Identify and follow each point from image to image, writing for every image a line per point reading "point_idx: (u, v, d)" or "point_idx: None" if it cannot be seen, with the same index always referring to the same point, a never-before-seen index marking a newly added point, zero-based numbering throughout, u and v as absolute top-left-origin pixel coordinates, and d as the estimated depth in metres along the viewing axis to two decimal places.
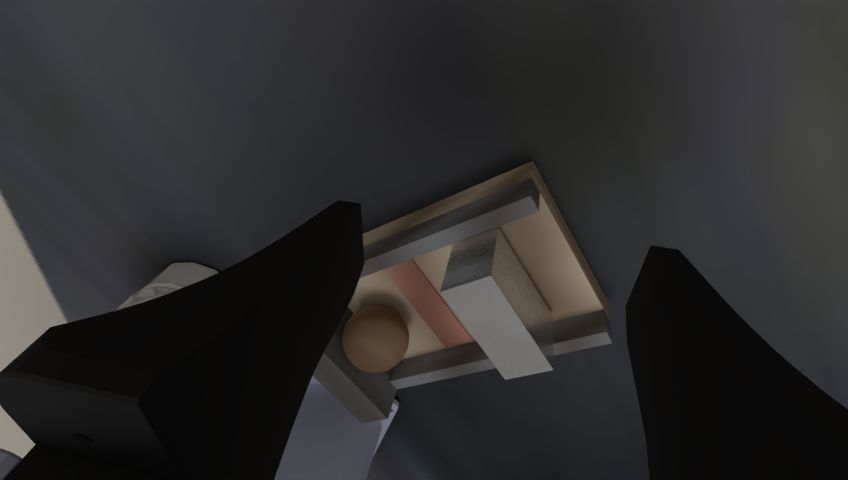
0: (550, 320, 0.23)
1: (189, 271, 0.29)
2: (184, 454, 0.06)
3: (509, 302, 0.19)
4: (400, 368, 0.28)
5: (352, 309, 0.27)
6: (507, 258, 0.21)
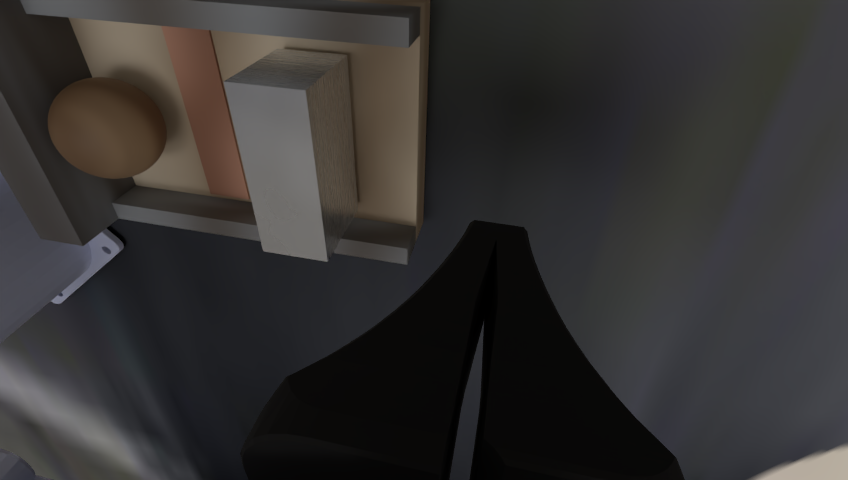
0: (353, 210, 0.18)
1: None
2: None
3: (313, 145, 0.14)
4: (136, 194, 0.20)
5: None
6: (339, 98, 0.15)
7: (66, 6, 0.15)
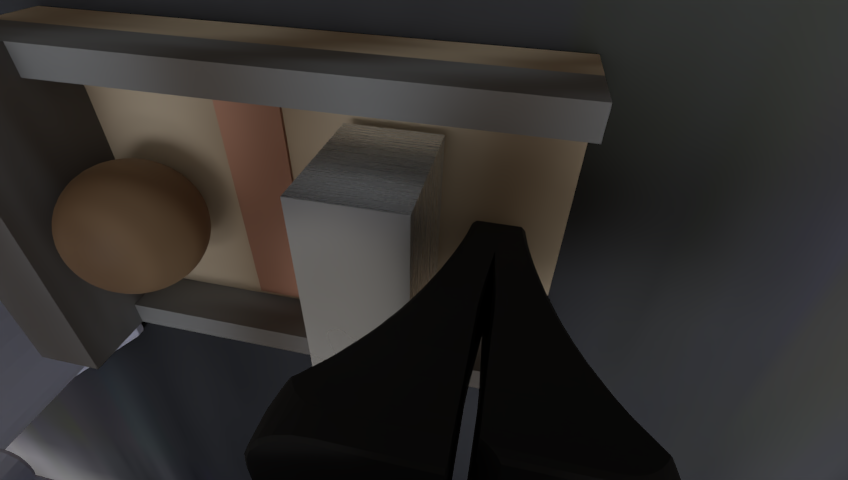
0: None
1: None
2: None
3: (410, 283, 0.09)
4: (165, 290, 0.16)
5: (117, 153, 0.14)
6: (434, 197, 0.10)
7: (78, 70, 0.10)
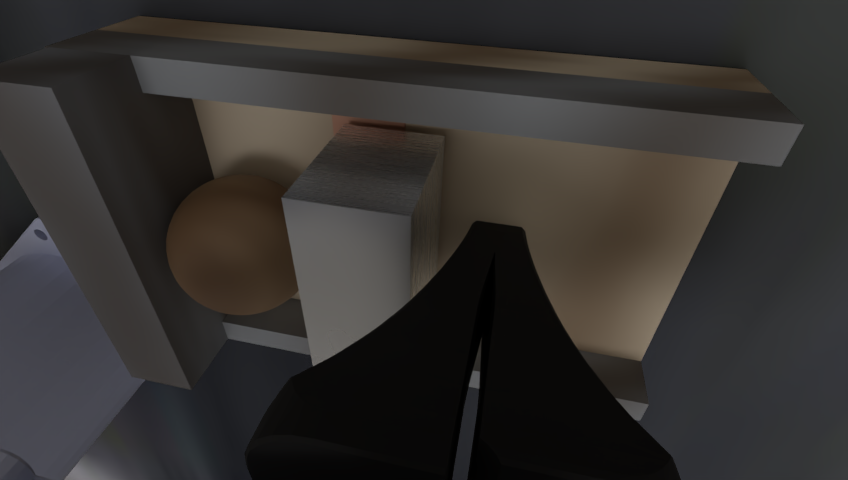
0: None
1: None
2: None
3: (410, 284, 0.09)
4: None
5: (216, 168, 0.13)
6: (434, 198, 0.11)
7: (208, 86, 0.10)
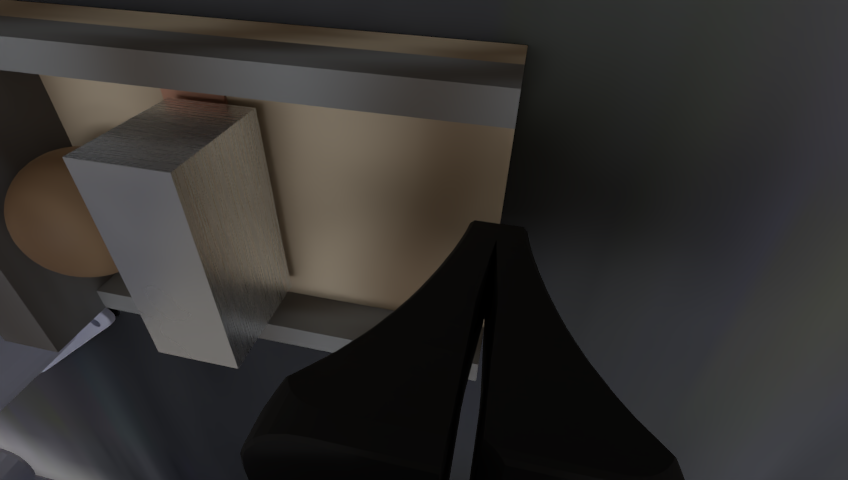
0: (282, 289, 0.15)
1: None
2: None
3: (194, 239, 0.10)
4: None
5: (75, 142, 0.14)
6: (243, 164, 0.11)
7: (25, 59, 0.11)
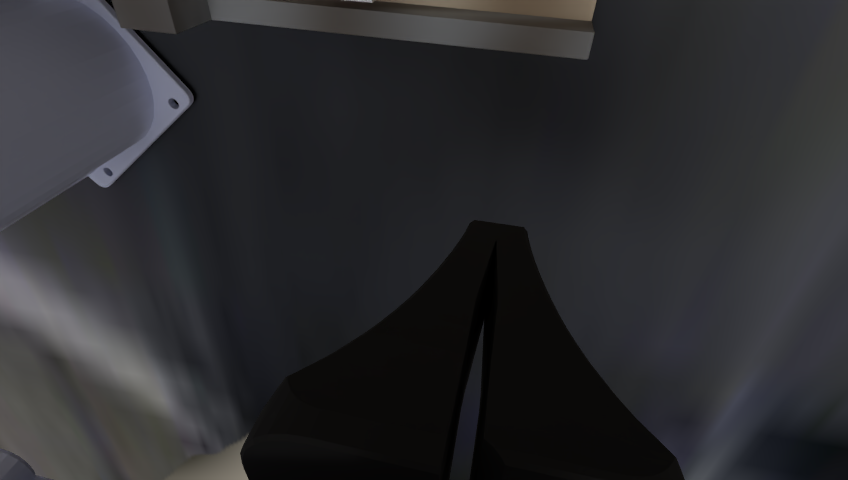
0: None
1: None
2: None
3: None
4: None
5: None
6: None
7: None
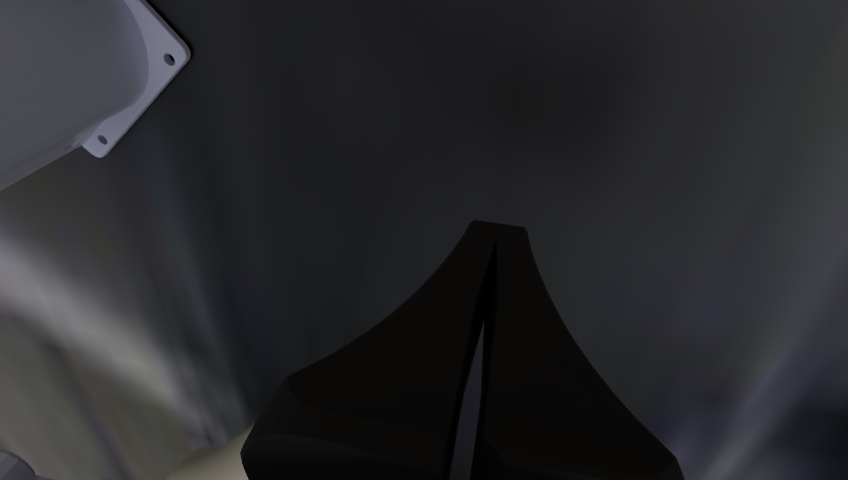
0: None
1: None
2: None
3: None
4: None
5: None
6: None
7: None
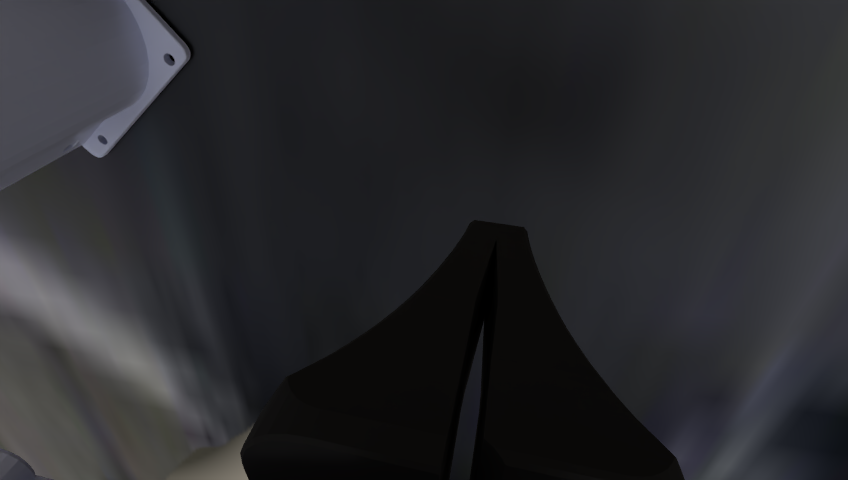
0: None
1: None
2: None
3: None
4: None
5: None
6: None
7: None
